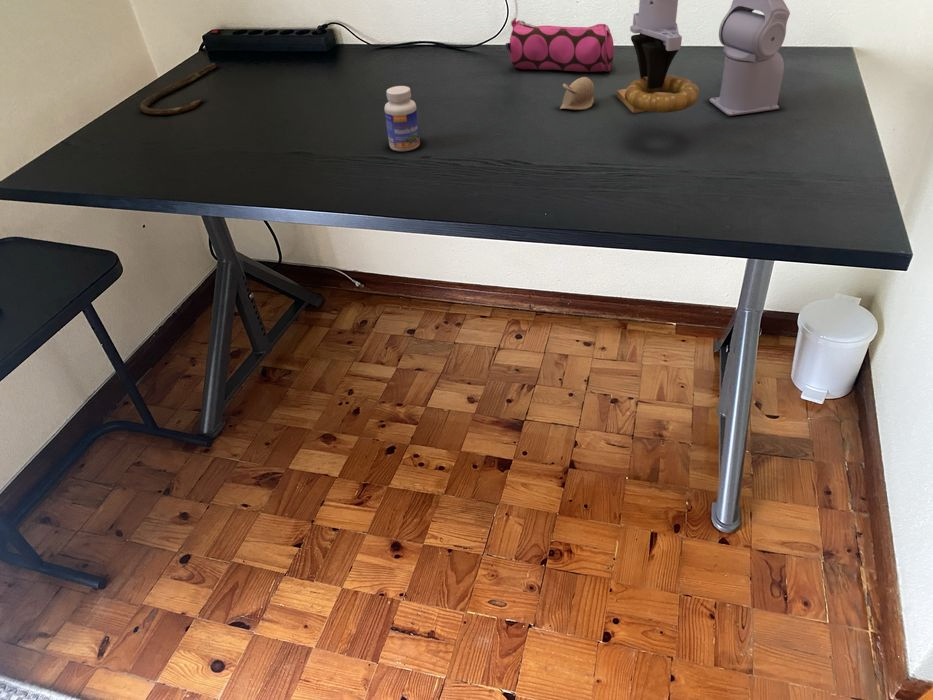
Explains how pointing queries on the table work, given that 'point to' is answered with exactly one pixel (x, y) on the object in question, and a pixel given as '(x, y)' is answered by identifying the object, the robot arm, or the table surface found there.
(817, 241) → the table surface
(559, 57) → the pencil case
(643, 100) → the ring
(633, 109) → the stand
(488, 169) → the table surface
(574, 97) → the decorative ornament
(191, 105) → the hook
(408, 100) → the pill bottle
